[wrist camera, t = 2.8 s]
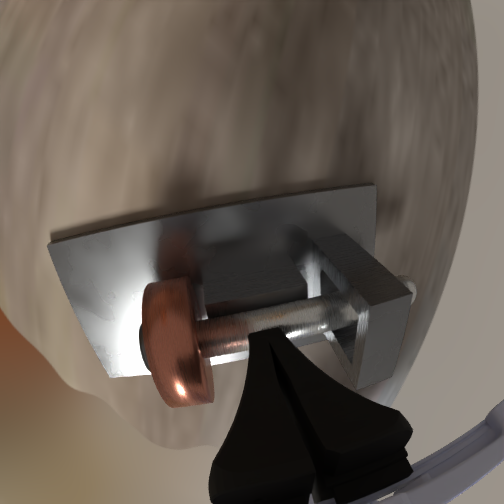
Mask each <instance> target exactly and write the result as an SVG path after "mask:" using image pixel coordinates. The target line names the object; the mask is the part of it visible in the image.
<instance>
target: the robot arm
mask: <svg viewBox="0 0 504 504" xmlns="http://www.w3.org/2000/svg"><path fill="white" fill-rule="evenodd" d="M248 341H249V360H248V369H247V375H246V380H245V385H244V390H243V394H242V397H241V401H240V404H239V407H238V410H237V413H236V416H235V418H234V421H233V423H232V426H231V428H230V430H229V432H228V434H227V437H226V439H225V441H224V443H223V445H222V447H221V448H220V450H219V452H218V453H217V455H216V457H215V459H214V460H213V463H212V467H211V471H210V476H209V496H210V500H211V503H213V504H447V503H448V502H450V501H451V500H453V499H454V498H456V497H457V496H459V495H460V494H462V493H463V492H464V491H466V490H467V489H468V488H470V487H471V486H473V485H474V484H475V483H477V482H478V481H479V480H481V479H482V478H483V477H484V476H486V475H487V474H488V473H489V472H491V471H492V470H493V469H494V468H495V467H496V466H498V465H499V464H500V463H501V462H502V461H503V460H504V400H503V401H501V402H500V403H499V404H498V405H496V406H495V407H494V408H493V409H492V410H491V411H490V412H489V414H488V415H487V416H486V418H485V420H483V421H482V422H480V423H479V424H478V425H476V426H475V427H474V428H472V429H471V430H469V431H468V432H466V433H465V434H463V435H462V436H460V437H459V438H457V439H456V440H454V441H453V442H451V443H449V444H448V445H446V446H445V447H443V448H441V449H440V450H438V451H436V452H435V453H433V454H431V455H429V456H427V457H426V458H424V459H422V460H420V461H418V462H417V463H414V464H413V465H410V464H409V462H408V460H407V458H406V457H407V456H408V453H407V451H406V450H405V448H404V447H405V446H406V444H407V443H408V441H409V439H410V438H411V435H412V433H413V429H412V427H411V426H410V424H409V422H408V421H407V420H406V418H405V417H404V416H403V415H402V414H401V413H400V411H398V410H395V409H392V408H389V407H386V406H383V405H381V404H378V403H376V402H373V401H371V400H369V399H367V398H365V397H363V396H361V395H359V394H357V393H355V392H353V391H351V390H350V389H348V388H346V387H344V386H343V385H341V384H340V383H338V382H337V381H335V380H334V379H332V378H331V377H329V376H328V375H327V374H325V373H324V372H323V371H322V370H320V369H319V368H318V367H317V366H316V365H314V364H313V363H312V362H311V361H310V360H309V359H308V358H307V357H306V356H305V355H304V354H303V353H302V352H301V351H300V350H299V349H298V348H297V347H296V346H295V345H294V344H293V343H292V342H291V341H290V340H289V338H288V337H287V336H286V335H285V334H284V332H283V331H282V330H281V328H279V327H276V328H271V329H267V330H262V331H257V332H252V333H249V335H248ZM394 491H395V492H394ZM392 492H394V494H393V496H391V497H388V498H386V499H384V500H381V501H377V499H379V498H381V497H383V496H386V495H388V494H390V493H392Z"/></svg>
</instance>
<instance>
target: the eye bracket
mask: <svg viewBox="0 0 504 504" xmlns="http://www.w3.org/2000/svg"><path fill="white" fill-rule="evenodd" d="M376 204H377V185H375V184H373V183H368V184H359V185H350V186H342V187H334V188H326V189H319V190H311V191H304V192H297V193H290V194H284V195H277V196H270V197H264V198H258V199H252V200H246V201H240V202H234V203H228V204H222V205H217V206H211V207H206V208H200V209H195V210H190V211H184V212H179V213H174V214H169V215H164V216H159V217H155V218H150V219H145V220H140V221H136V222H131V223H127V224H122V225H118V226H113V227H109V228H105V229H100V230H96V231H92V232H88V233H83V234H79V235H75V236H71V237H67V238H63V239H60V240H56V241H52V242H50V243H49V244H48V245H47V248H48V250H49V253H50V256H51V258H52V261H53V264H54V266H55V269H56V271H57V274H58V276H59V279H60V281H61V283H62V286H63V288H64V290H65V293H66V295H67V297H68V299H69V302H70V304H71V306H72V308H73V310H74V312H75V314H76V316H77V318H78V320H79V322H80V324H81V326H82V328H83V330H84V332H85V334H86V336H87V338H88V340H89V342H90V344H91V345H92V347H93V349H94V351H95V353H96V354H97V356H98V358H99V360H100V361H101V363H102V365H103V367H104V368H105V370H106V372H107V373H108V375H109V377H110V378H113V377H125V376H135V375H145V374H151V372H149V371H148V370H147V368H146V366H145V364H144V362H143V359H142V356H141V352H140V347H139V327H140V325H141V324H142V315H141V311H142V298H143V293H144V289H145V287H146V285H147V284H148V283H152V282H158V281H163V280H169V279H174V278H180V277H185V276H188V277H189V278H190V280H191V282H192V285H193V287H194V290H195V293H196V297H197V300H198V304H199V308H200V312H201V316H202V320H204V319H210V318H215V317H221V316H226V315H231V314H236V313H241V312H246V311H251V310H256V309H261V308H266V307H271V306H276V305H280V304H285V303H289V302H294V301H298V300H303V299H307V298H311V297H316V296H320V295H324V294H328V293H333V292H337V291H340V292H341V293H342V295H343V296H344V297H345V298H346V300H347V301H348V302H349V304H350V305H351V306H352V308H353V309H354V310H355V311H356V313H357V314H358V315H359V316H358V323H357V324H353V325H350V326H346V327H343V328H339V329H336V330H332V331H329V332H325V333H321V334H317V335H313V336H309V337H305V338H301V339H297V340H293V341H291V342H292V343H293V344H294V345H295V346H296V347H300V346H304V345H308V344H312V343H316V342H320V341H323V340H327V339H328V341H329V343H330V344H331V346H332V348H333V350H334V351H335V353H336V355H337V357H338V359H339V360H340V362H341V364H342V366H343V367H344V369H345V371H346V373H347V375H348V376H349V378H350V380H351V382H352V384H353V385H354V387H355V389H356V390H358V389H361V388H364V387H367V386H369V385H372V384H375V383H377V382H380V381H383V380H385V379H388V378H390V377H392V375H393V372H394V369H395V366H396V362H397V359H398V355H399V352H400V348H401V344H402V340H403V336H404V332H405V328H406V324H407V320H408V316H409V311H410V306H411V302H412V297H413V293H412V292H411V291H410V290H409V289H408V288H407V287H406V286H405V285H404V284H403V283H401V282H400V281H399V280H398V279H397V278H396V277H395V276H394V275H393V274H392V273H391V272H389V271H388V270H387V269H386V268H385V267H384V266H383V265H382V264H381V263H379V262H378V261H377V260H376V259H375V258H374V249H375V232H376ZM247 358H249V350H248V351H243V352H238V353H233V354H227V355H222V356H216V357H211V358H210V361H211V365H215V364H221V363H226V362H232V361H237V360H242V359H247Z"/></svg>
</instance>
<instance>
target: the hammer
mask: <svg viewBox="0 0 504 504" xmlns="http://www.w3.org/2000/svg"><path fill="white" fill-rule="evenodd" d="M395 277H396V278H397V279H398V280H399V281H400V282H401V283H403V284H404V285H405V286H406V287H407V288H408V289H409V290H410V291H411V292H412V293H413V297H412V302H411V304H412V303H413V302H414V300H415V298H416V294H417V289H416V285H415V283H414V281H413V280H412V279H411V278H409V277H408V276H405V275H398V276H395ZM141 315H142V324H141V325H140V327H139V347H140V352H141V356H142V359H143V362H144V364H145V366H146V368H147V370H148V371H149V372H151V374H152V377H153V380H154V382H155V385H156V387H157V389H158V391H159V393H160V395H161V397H162V399H163V400H164V401H165V403H166V404H167V405H168V406H169V407H171V408H177V407H186V406H193V405H201V404H207V403H213V402H214V382H213V374H212V367H211V361H210V358H211V357H216V356H222V355H227V354H233V353H238V352H243V351H248V350H249V341H248V335H249V333H252V332H257V331H262V330H267V329H271V328H276V327H279V328H281V330H282V331H283V332H284V334H285V335H286V336H287V337H288V338H289V340H290V341H293V340H297V339H301V338H305V337H309V336H313V335H317V334H321V333H325V332H329V331H332V330H336V329H339V328H343V327H346V326H350V325H353V324H357V323H358V316H359V315H358V314H357V313H356V311H355V310H354V309H353V308H352V306H351V305H350V304H349V302H348V301H347V300H346V298H345V297H344V296H343V295H342V293H341V292H340V291H337V292H333V293H328V294H324V295H320V296H316V297H311V298H307V299H303V300H298V301H294V302H289V303H285V304H280V305H276V306H271V307H266V308H261V309H256V310H251V311H246V312H241V313H236V314H231V315H226V316H221V317H215V318H210V319H204V320H202V316H201V312H200V308H199V304H198V300H197V297H196V293H195V290H194V287H193V285H192V282H191V280H190V278H189V277H188V276H185V277H180V278H174V279H169V280H163V281H158V282H152V283H148V284H147V285H146V287H145V289H144V293H143V298H142V311H141Z"/></svg>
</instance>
